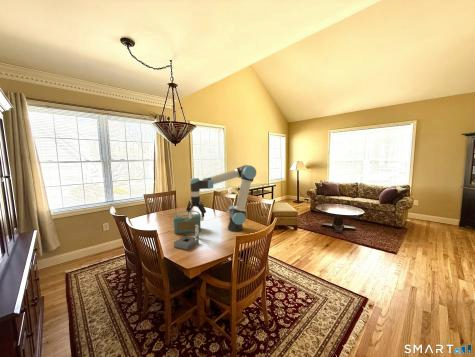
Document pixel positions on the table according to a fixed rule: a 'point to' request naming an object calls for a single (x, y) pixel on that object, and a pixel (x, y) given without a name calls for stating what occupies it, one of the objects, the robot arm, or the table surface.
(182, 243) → the chuck block
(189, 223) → the radio
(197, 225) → the chuck key
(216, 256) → the table surface
